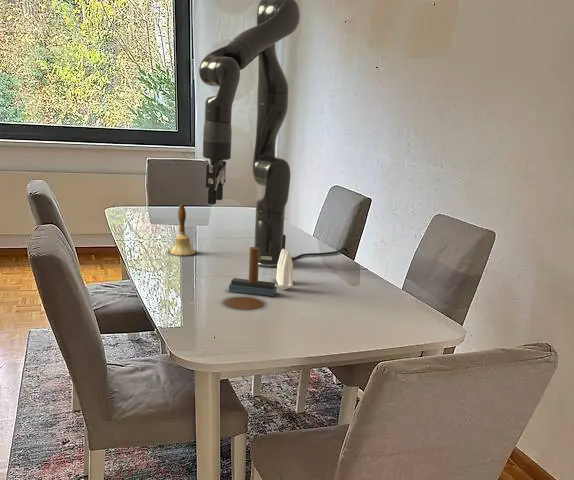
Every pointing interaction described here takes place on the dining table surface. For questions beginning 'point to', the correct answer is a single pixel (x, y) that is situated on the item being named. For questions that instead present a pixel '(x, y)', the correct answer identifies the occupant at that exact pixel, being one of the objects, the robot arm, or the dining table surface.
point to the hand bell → (182, 237)
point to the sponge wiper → (253, 279)
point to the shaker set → (285, 270)
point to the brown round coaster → (244, 303)
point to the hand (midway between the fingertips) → (215, 201)
